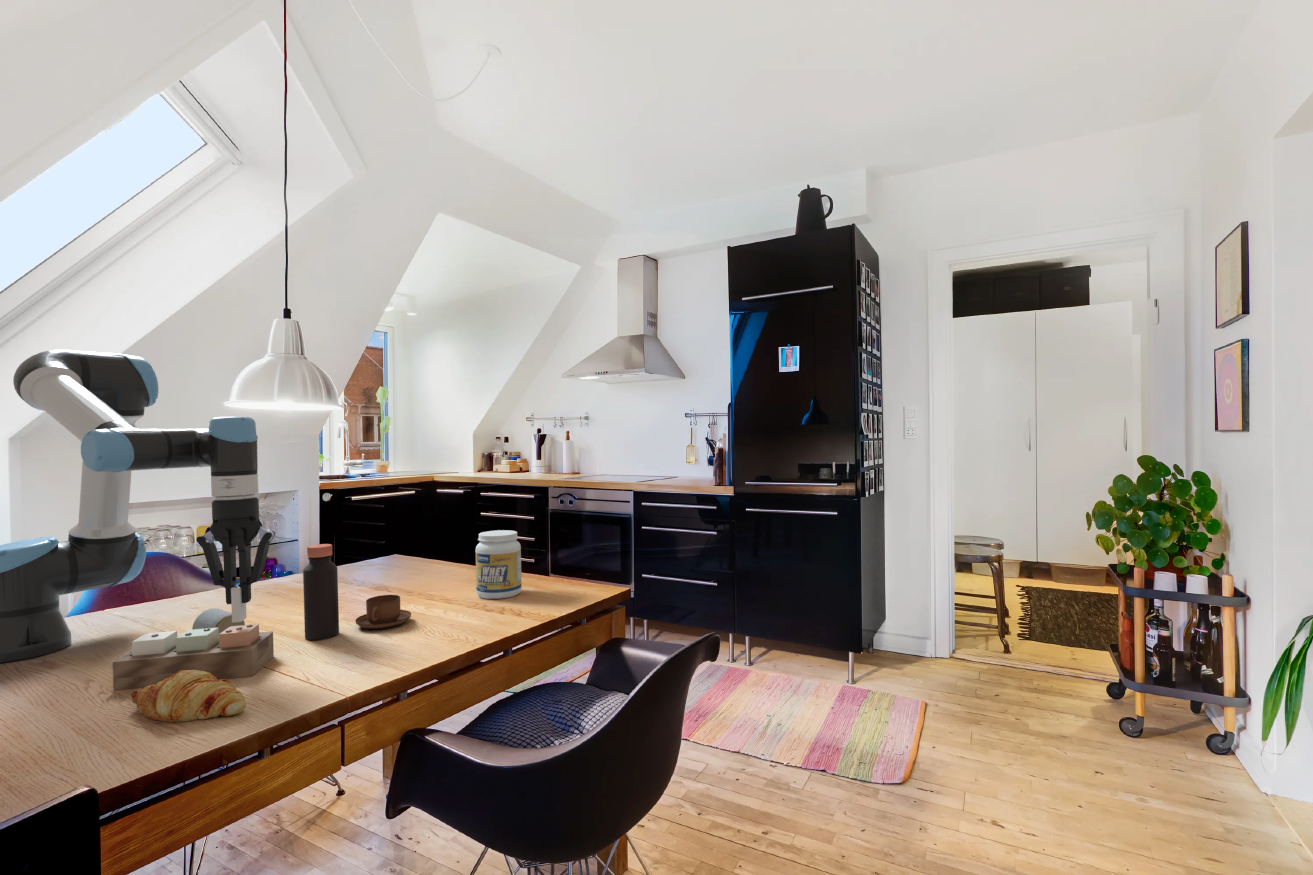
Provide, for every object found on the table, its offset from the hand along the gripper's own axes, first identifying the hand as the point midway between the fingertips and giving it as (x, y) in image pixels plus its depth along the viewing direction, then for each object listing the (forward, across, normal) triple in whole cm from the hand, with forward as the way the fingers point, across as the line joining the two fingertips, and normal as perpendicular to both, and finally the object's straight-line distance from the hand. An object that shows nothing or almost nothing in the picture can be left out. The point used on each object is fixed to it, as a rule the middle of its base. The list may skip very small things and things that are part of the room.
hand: (239, 619), depth 122 cm
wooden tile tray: (+9, -7, 0) cm, 12 cm away
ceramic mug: (+10, -10, +19) cm, 23 cm away
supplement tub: (+10, +48, +42) cm, 64 cm away
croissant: (+10, 0, -20) cm, 22 cm away
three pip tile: (+5, 0, 0) cm, 5 cm away
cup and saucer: (+10, +22, +22) cm, 33 cm away
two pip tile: (+5, -7, 0) cm, 9 cm away
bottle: (+9, +10, +17) cm, 22 cm away
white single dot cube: (+5, -14, 0) cm, 15 cm away
